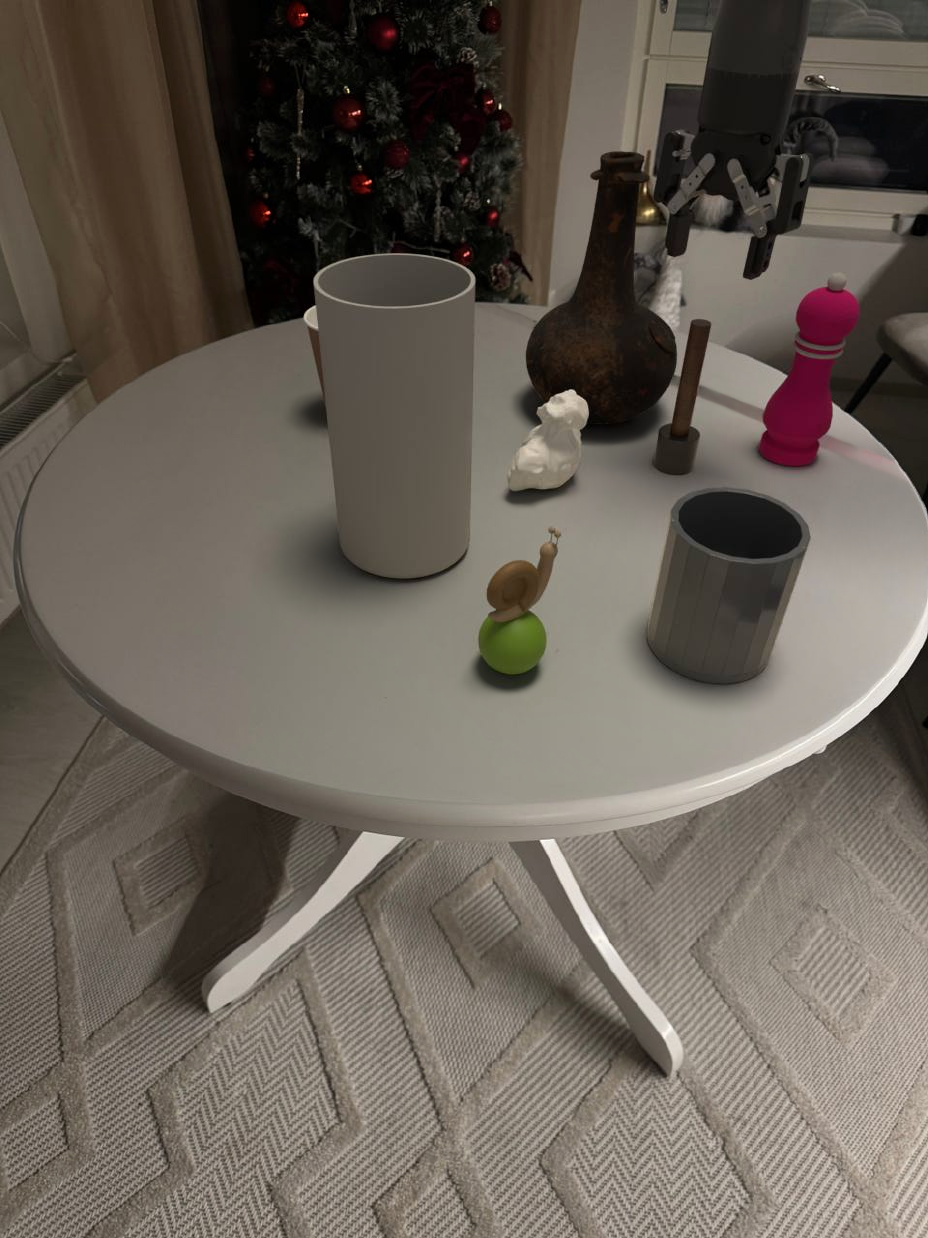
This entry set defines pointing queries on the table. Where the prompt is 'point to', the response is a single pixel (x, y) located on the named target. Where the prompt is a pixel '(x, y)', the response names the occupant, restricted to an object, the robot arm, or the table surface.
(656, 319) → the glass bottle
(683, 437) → the brush
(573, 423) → the bust
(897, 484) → the table surface
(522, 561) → the snail figurine
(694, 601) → the grey pencil holder
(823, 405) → the pepper mill
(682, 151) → the robot arm
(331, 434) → the cylinder vase
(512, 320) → the table surface
